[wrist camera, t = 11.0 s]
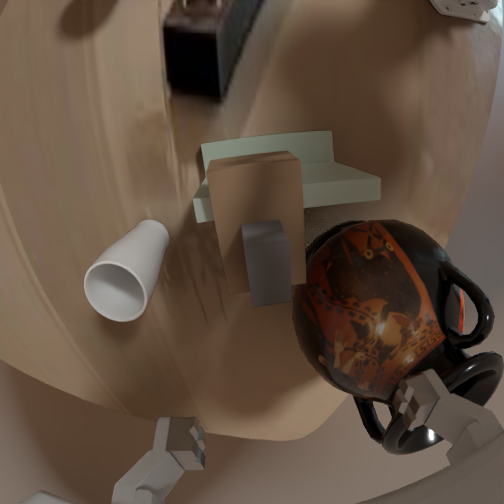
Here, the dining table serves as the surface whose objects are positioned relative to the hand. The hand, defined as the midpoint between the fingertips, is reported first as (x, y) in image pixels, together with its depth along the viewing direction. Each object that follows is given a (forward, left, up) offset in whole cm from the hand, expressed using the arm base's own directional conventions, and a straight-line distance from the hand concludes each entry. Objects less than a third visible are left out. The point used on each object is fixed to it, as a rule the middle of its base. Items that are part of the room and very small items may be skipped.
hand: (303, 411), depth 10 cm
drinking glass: (+14, +2, -31) cm, 34 cm away
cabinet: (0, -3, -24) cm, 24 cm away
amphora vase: (-14, +12, -31) cm, 35 cm away
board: (-3, -6, -30) cm, 31 cm away
